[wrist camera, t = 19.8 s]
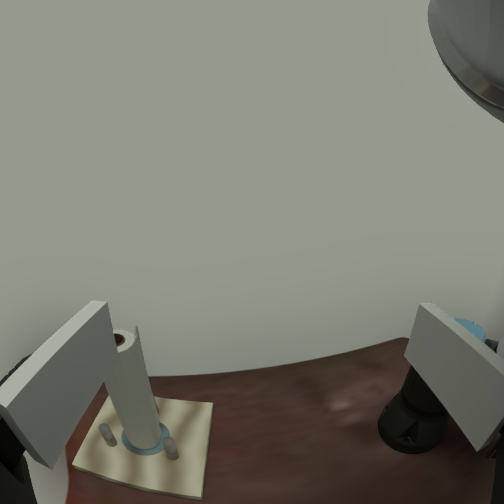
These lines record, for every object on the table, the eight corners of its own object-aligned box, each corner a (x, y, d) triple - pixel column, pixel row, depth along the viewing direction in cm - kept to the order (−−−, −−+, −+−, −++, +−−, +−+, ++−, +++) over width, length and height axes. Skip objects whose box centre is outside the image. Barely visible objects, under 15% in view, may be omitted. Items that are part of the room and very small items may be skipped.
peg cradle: (213, 407, 47) (211, 387, 46) (202, 500, 26) (197, 485, 25) (114, 394, 47) (106, 373, 45) (75, 468, 25) (60, 449, 24)
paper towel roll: (135, 454, 32) (94, 355, 26) (124, 430, 36) (90, 332, 31) (173, 442, 36) (148, 344, 31) (159, 420, 40) (136, 323, 35)
